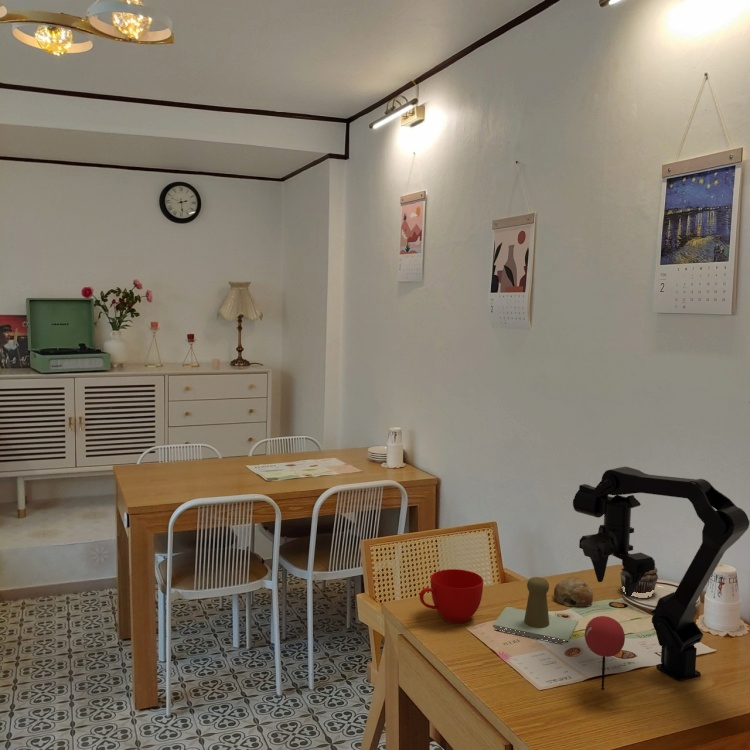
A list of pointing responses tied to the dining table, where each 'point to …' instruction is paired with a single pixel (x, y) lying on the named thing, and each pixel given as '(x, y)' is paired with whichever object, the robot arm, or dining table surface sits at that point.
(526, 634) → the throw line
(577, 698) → the dining table surface
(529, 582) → the olive game pawn
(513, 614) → the green spiral notebook
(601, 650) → the lollipop
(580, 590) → the bread roll
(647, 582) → the cupcake
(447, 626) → the dining table surface
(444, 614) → the ceramic cup
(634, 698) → the dining table surface
